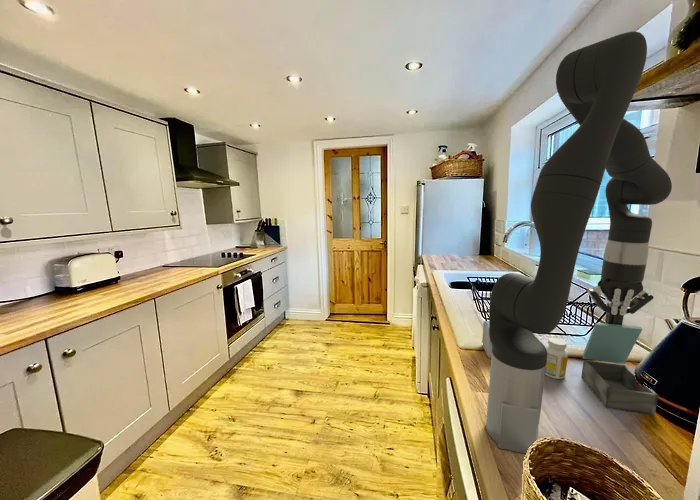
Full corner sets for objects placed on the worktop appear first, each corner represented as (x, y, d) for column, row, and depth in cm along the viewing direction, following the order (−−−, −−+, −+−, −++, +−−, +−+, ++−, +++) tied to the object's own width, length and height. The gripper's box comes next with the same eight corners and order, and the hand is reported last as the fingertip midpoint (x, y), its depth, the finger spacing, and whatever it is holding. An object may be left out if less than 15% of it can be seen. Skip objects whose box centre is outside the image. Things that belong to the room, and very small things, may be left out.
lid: (642, 329, 70) (640, 326, 70) (597, 325, 72) (595, 322, 73) (624, 363, 75) (623, 361, 76) (583, 358, 78) (582, 356, 79)
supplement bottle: (545, 377, 79) (549, 344, 77) (538, 366, 84) (542, 335, 82) (568, 381, 77) (573, 347, 75) (560, 369, 82) (564, 337, 81)
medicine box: (503, 359, 88) (506, 332, 86) (487, 358, 89) (489, 331, 87) (496, 346, 95) (498, 321, 94) (481, 345, 96) (483, 320, 95)
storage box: (654, 415, 65) (658, 395, 64) (605, 408, 67) (608, 388, 66) (622, 382, 76) (625, 365, 75) (581, 377, 79) (583, 360, 78)
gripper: (599, 262, 68) (588, 331, 71) (671, 264, 64) (656, 337, 68) (583, 255, 75) (574, 318, 79) (648, 257, 71) (635, 323, 75)
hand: (612, 327), depth 73 cm, fingers closed
